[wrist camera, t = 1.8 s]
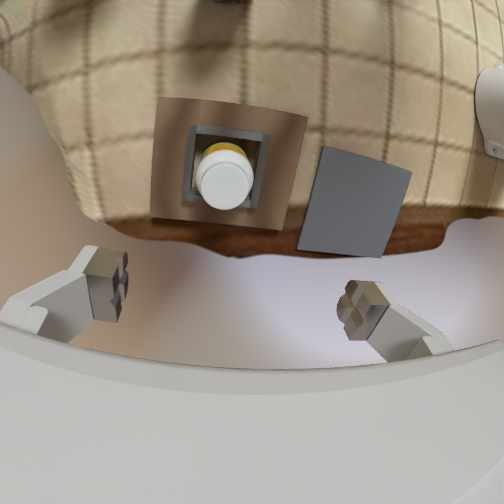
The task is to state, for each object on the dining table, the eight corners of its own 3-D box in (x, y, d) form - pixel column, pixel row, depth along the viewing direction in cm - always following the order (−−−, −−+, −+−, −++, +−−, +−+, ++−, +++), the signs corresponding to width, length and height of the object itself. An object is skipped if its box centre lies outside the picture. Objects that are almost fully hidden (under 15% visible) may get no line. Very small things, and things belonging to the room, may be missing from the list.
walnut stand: (304, 116, 28) (310, 117, 26) (279, 224, 35) (283, 234, 33) (161, 97, 25) (156, 97, 23) (152, 211, 32) (148, 220, 30)
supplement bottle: (243, 187, 32) (251, 222, 24) (197, 182, 31) (189, 214, 23) (251, 143, 29) (263, 161, 21) (204, 137, 28) (196, 152, 20)
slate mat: (410, 171, 32) (412, 172, 32) (379, 256, 39) (380, 258, 39) (322, 145, 30) (324, 146, 30) (296, 247, 37) (297, 249, 37)
